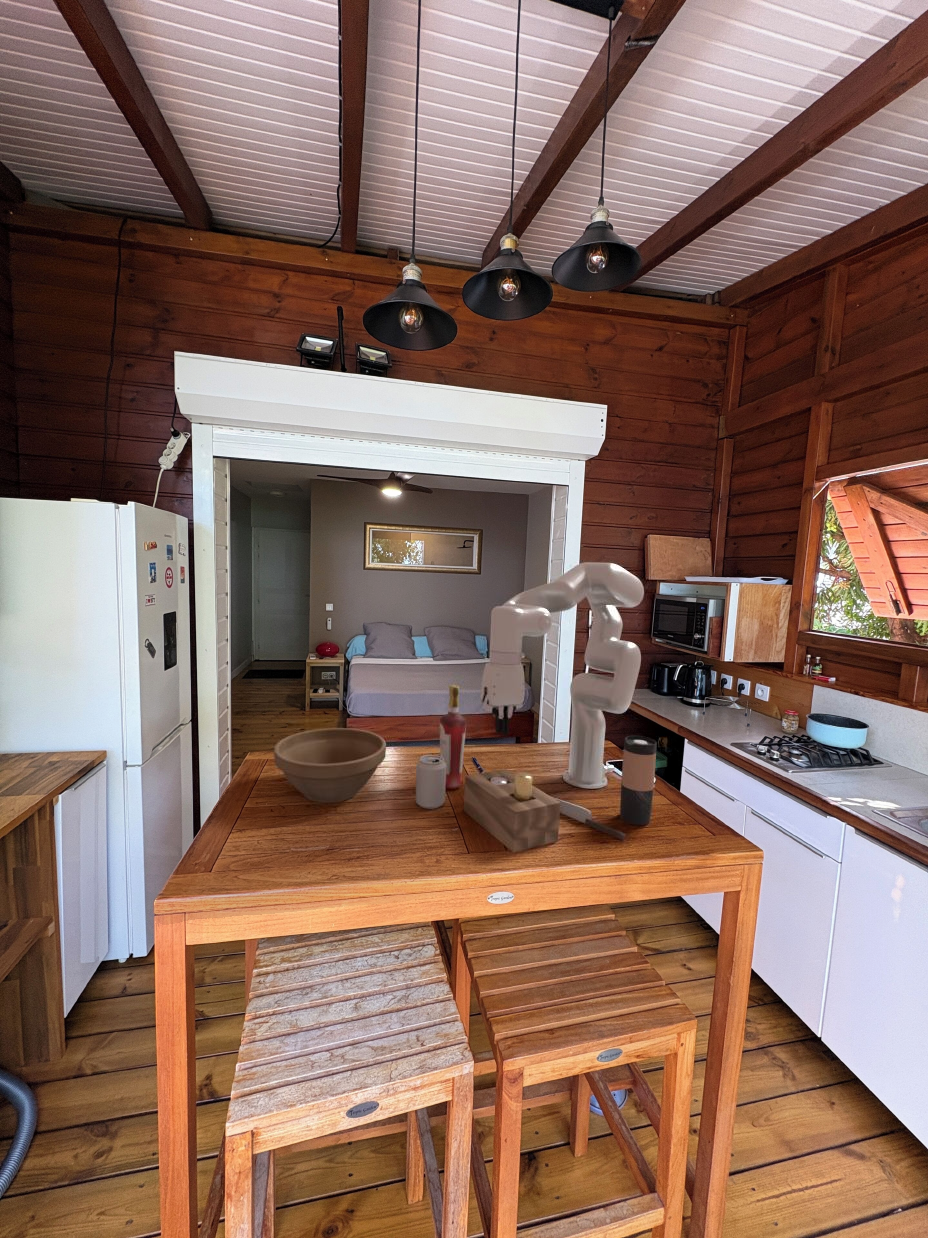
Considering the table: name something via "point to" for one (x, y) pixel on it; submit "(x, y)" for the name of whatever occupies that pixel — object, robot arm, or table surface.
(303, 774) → the brown mixing bowl
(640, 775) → the travel mug
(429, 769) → the can
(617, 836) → the kitchen knife
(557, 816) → the socket block
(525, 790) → the brass peg
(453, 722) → the liquor
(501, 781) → the steel peg
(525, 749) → the table surface
